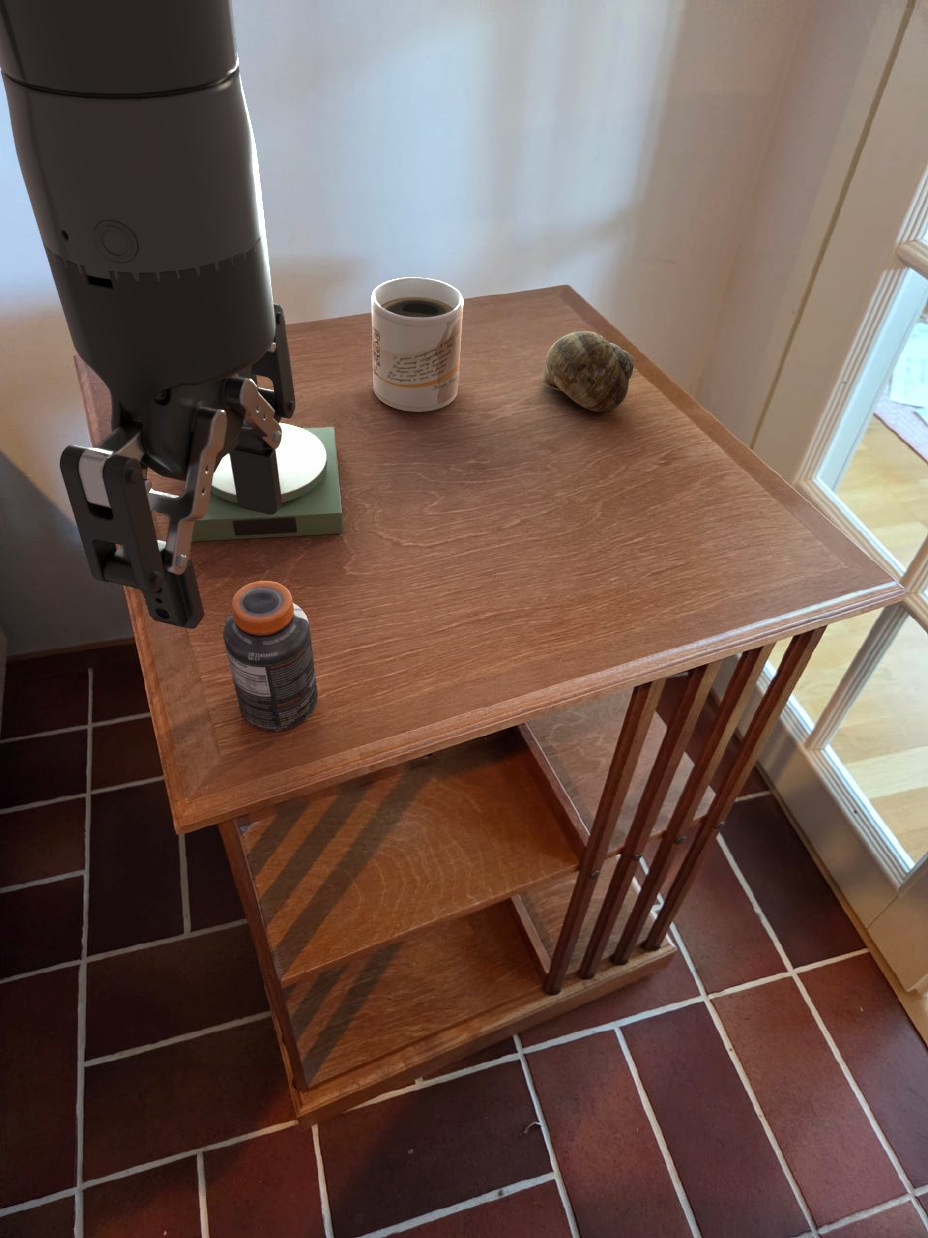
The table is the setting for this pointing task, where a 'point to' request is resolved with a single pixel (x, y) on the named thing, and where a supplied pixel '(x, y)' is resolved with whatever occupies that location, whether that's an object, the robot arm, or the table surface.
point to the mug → (416, 343)
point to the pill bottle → (270, 657)
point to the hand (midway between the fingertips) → (223, 560)
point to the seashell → (589, 370)
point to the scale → (303, 492)
